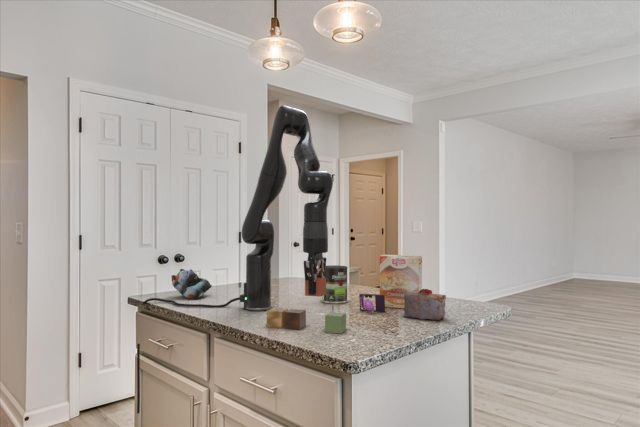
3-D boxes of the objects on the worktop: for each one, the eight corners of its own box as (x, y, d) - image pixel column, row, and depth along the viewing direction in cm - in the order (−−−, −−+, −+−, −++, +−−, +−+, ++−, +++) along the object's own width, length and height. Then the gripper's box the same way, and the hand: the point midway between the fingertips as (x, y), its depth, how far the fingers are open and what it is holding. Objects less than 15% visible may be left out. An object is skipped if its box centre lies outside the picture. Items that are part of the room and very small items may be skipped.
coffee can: (352, 302, 179) (352, 267, 179) (329, 304, 174) (329, 268, 174) (339, 298, 188) (339, 264, 188) (317, 300, 183) (317, 265, 184)
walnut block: (284, 328, 136) (284, 311, 136) (290, 324, 140) (291, 308, 140) (299, 329, 134) (299, 313, 134) (305, 326, 139) (305, 310, 139)
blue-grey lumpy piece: (196, 300, 181) (179, 270, 181) (177, 309, 187) (160, 280, 186) (217, 285, 195) (201, 257, 194) (199, 294, 200) (183, 267, 199)
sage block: (325, 332, 131) (325, 315, 131) (330, 328, 136) (330, 311, 136) (341, 333, 130) (341, 316, 130) (346, 329, 134) (346, 313, 134)
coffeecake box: (379, 306, 170) (379, 255, 170) (383, 303, 176) (383, 254, 177) (419, 310, 164) (418, 256, 164) (422, 306, 171) (422, 255, 171)
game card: (384, 293, 160) (359, 292, 162) (383, 301, 155) (357, 299, 157) (385, 310, 162) (360, 309, 164) (383, 318, 157) (358, 316, 159)
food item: (448, 317, 151) (448, 288, 151) (443, 322, 144) (442, 291, 144) (408, 313, 157) (408, 285, 157) (401, 318, 150) (401, 288, 150)
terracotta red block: (304, 295, 134) (304, 278, 134) (310, 293, 138) (310, 276, 138) (320, 296, 132) (320, 279, 132) (326, 294, 137) (326, 277, 137)
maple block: (266, 326, 138) (266, 310, 138) (273, 323, 142) (273, 307, 142) (281, 328, 136) (281, 311, 136) (288, 324, 141) (288, 308, 141)
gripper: (312, 235, 144) (312, 289, 143) (294, 237, 130) (294, 296, 130) (334, 236, 141) (334, 290, 141) (319, 237, 127) (319, 297, 127)
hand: (315, 292), depth 135 cm, fingers closed on terracotta red block, 5 cm apart
